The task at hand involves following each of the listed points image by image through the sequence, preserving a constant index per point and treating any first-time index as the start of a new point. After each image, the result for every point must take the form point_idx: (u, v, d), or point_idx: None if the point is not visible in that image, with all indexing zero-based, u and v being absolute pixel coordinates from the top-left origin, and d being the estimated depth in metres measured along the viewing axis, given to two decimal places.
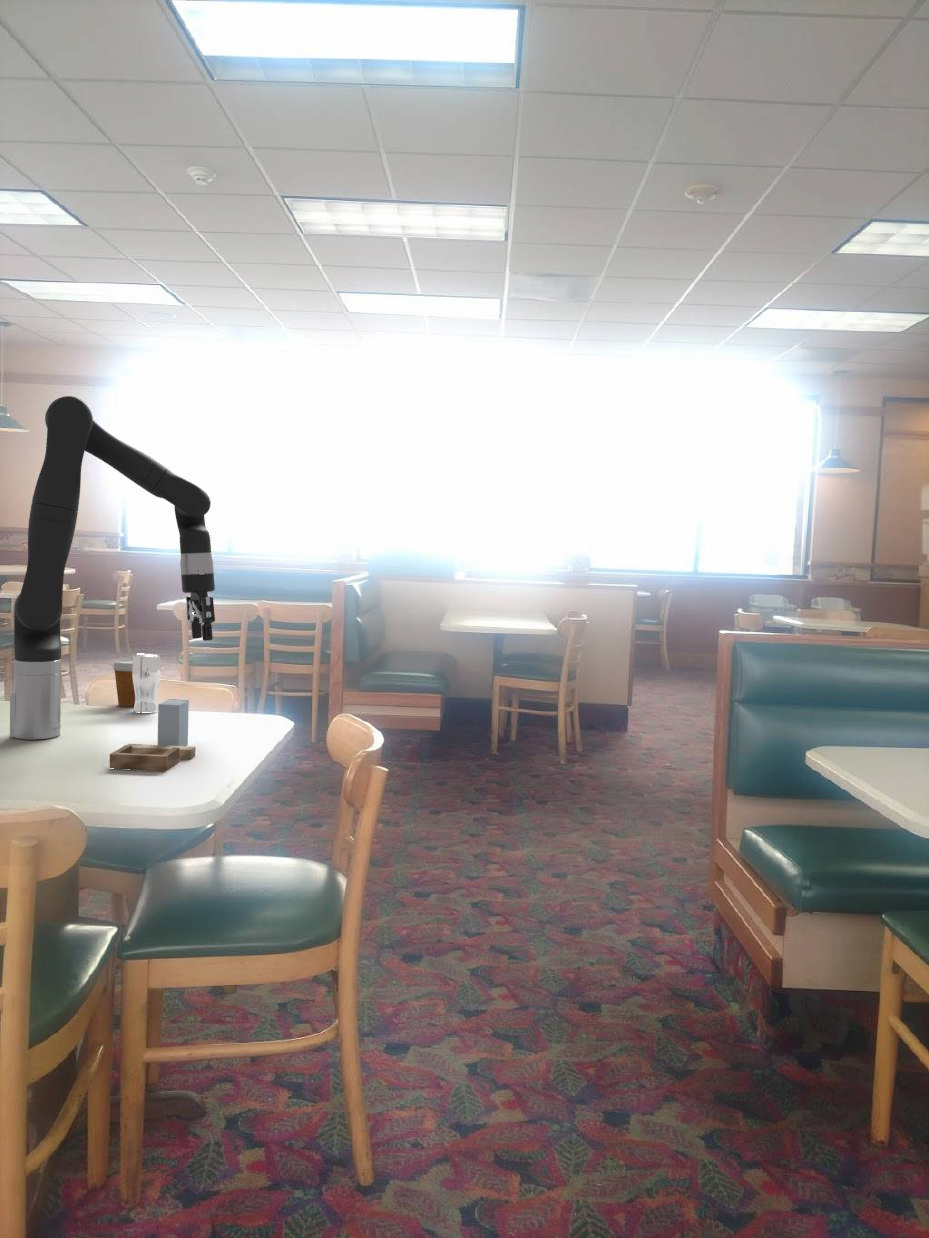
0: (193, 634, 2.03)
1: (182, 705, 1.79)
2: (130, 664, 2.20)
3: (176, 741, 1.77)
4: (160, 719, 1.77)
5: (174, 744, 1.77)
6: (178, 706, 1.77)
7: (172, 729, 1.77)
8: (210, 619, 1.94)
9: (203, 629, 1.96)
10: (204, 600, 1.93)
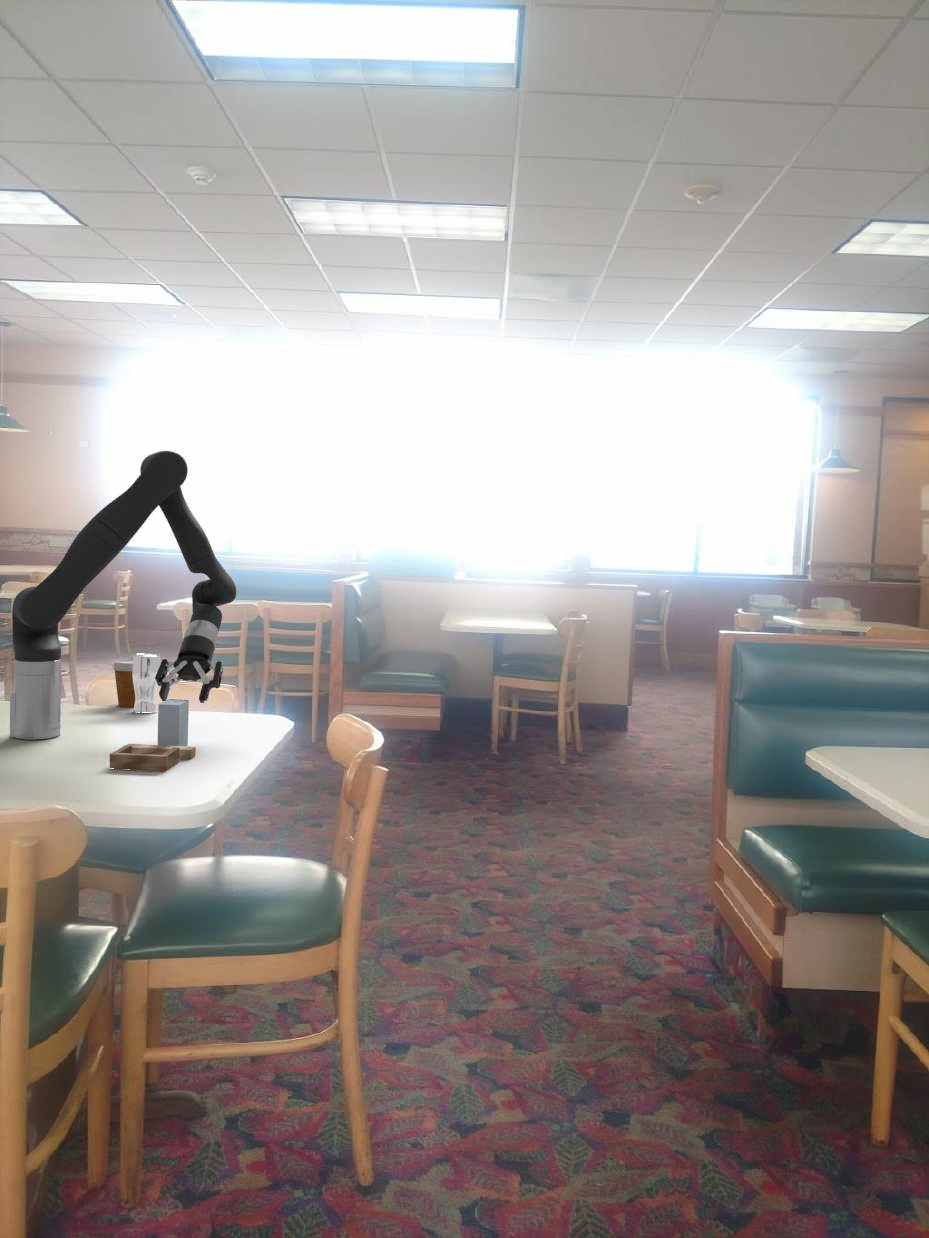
0: (164, 693, 1.85)
1: (182, 705, 1.79)
2: (130, 664, 2.20)
3: (176, 741, 1.77)
4: (160, 719, 1.77)
5: (174, 744, 1.77)
6: (178, 706, 1.77)
7: (172, 729, 1.77)
8: (218, 683, 1.89)
9: (204, 688, 1.86)
10: (221, 664, 1.91)
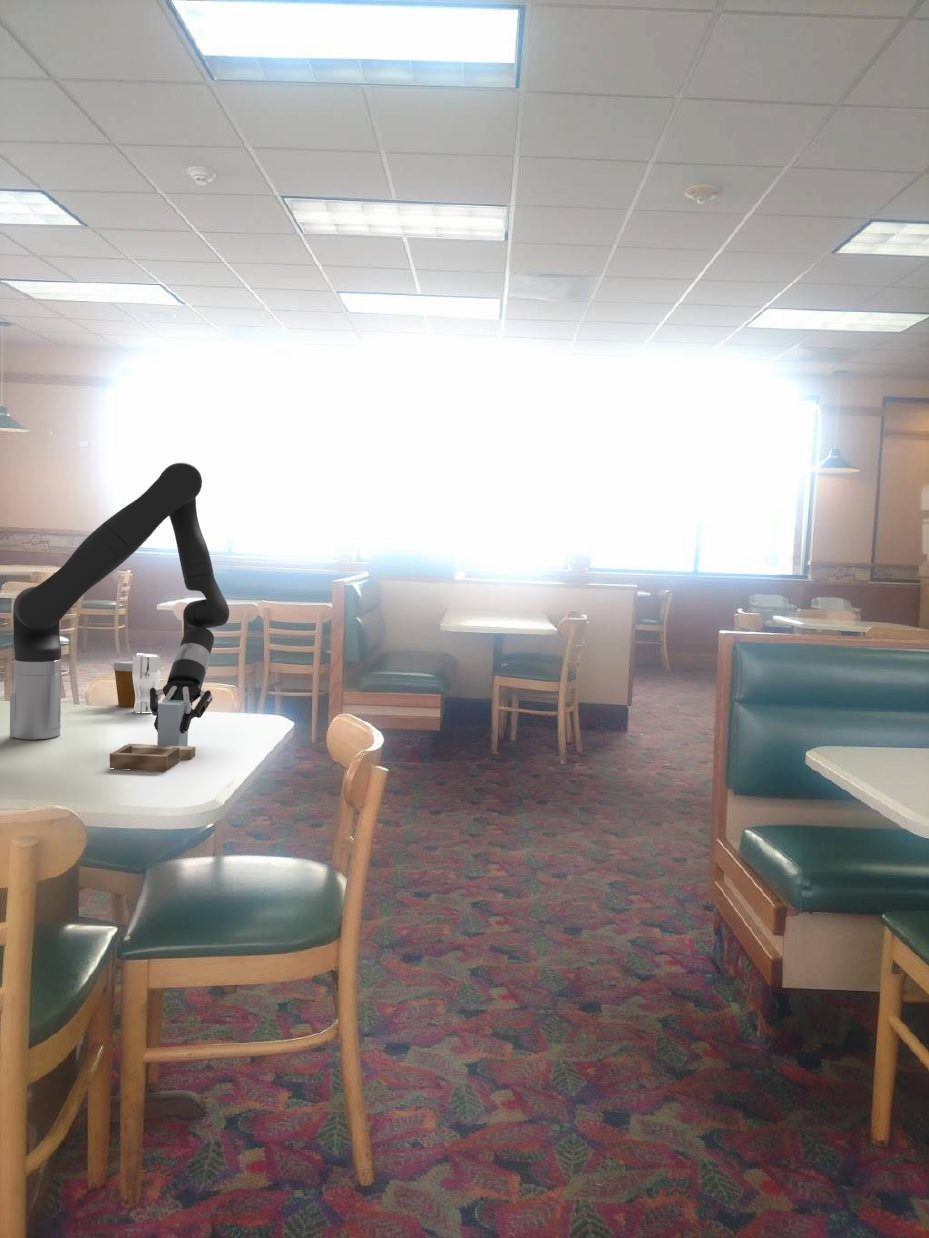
0: None
1: (182, 705, 1.79)
2: (130, 664, 2.20)
3: (176, 741, 1.77)
4: (160, 719, 1.77)
5: (174, 744, 1.77)
6: (178, 706, 1.77)
7: (172, 728, 1.77)
8: (200, 712, 1.82)
9: (185, 718, 1.79)
10: (210, 694, 1.83)
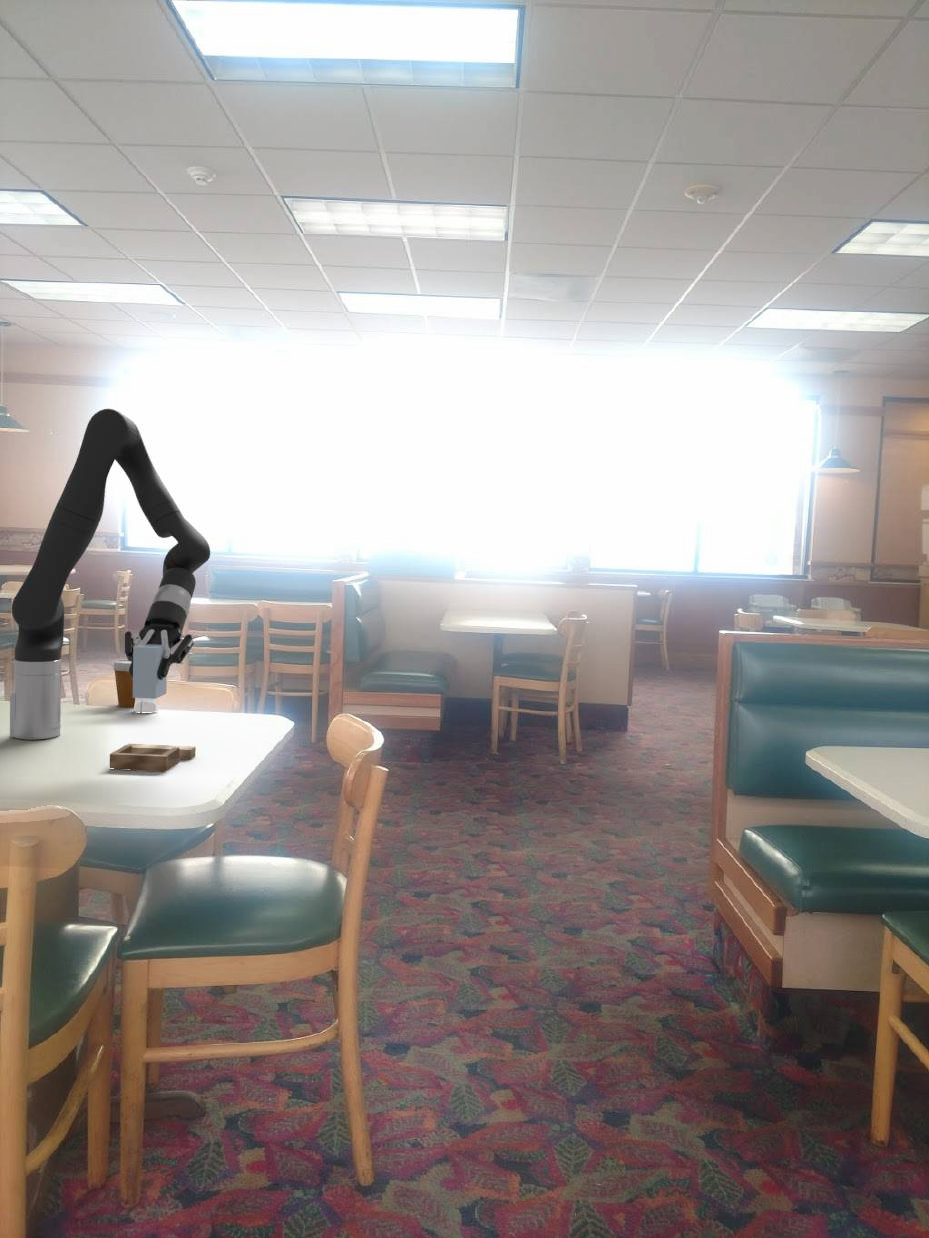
0: None
1: (160, 648, 1.63)
2: (130, 664, 2.20)
3: (153, 687, 1.62)
4: (135, 663, 1.61)
5: (151, 691, 1.62)
6: (155, 649, 1.61)
7: (149, 674, 1.61)
8: (180, 658, 1.66)
9: (163, 663, 1.64)
10: (190, 639, 1.68)
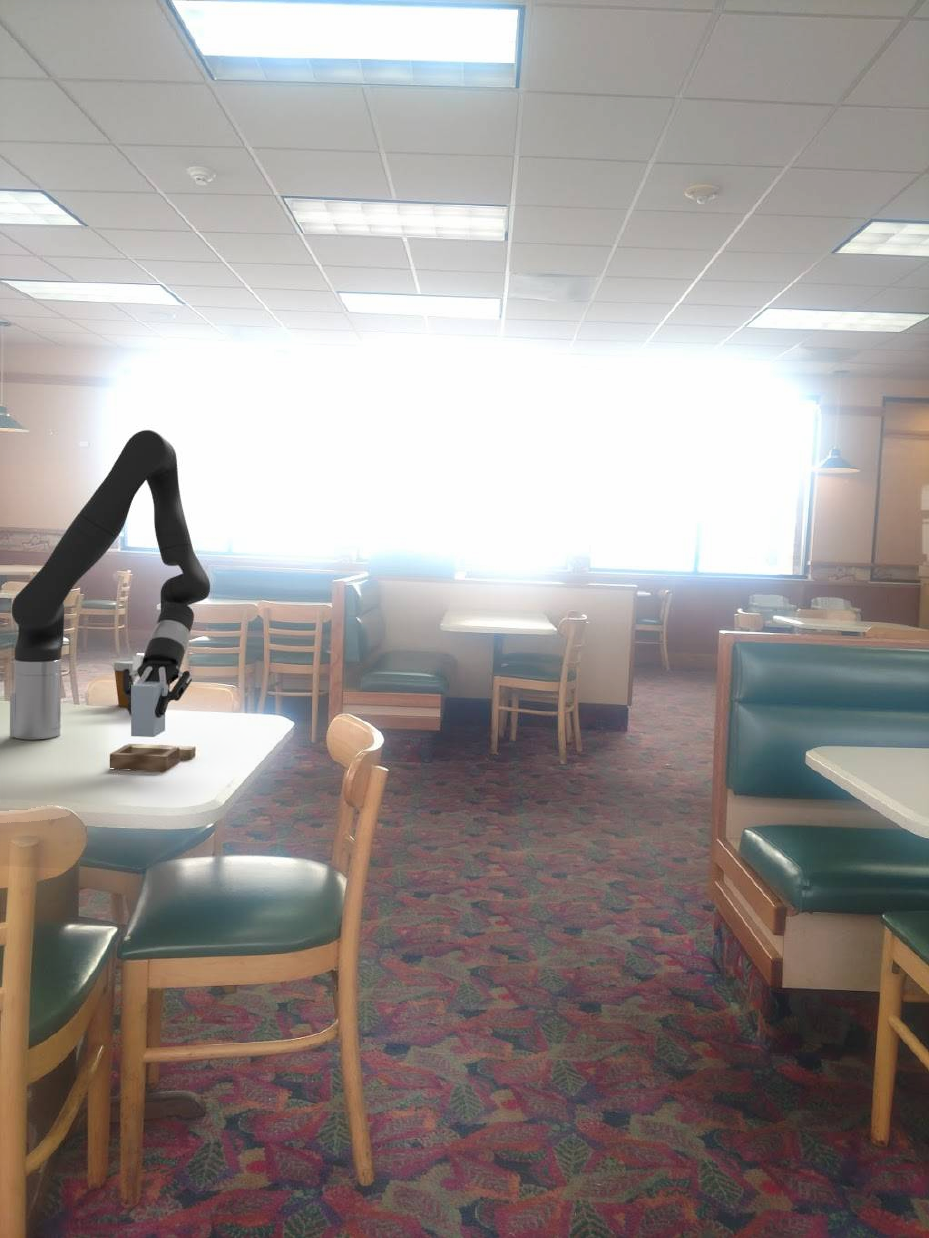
0: None
1: (157, 686, 1.63)
2: (130, 664, 2.20)
3: (151, 726, 1.62)
4: (133, 702, 1.61)
5: (149, 729, 1.62)
6: (153, 687, 1.61)
7: (147, 712, 1.62)
8: (178, 695, 1.66)
9: (161, 701, 1.64)
10: (188, 675, 1.68)
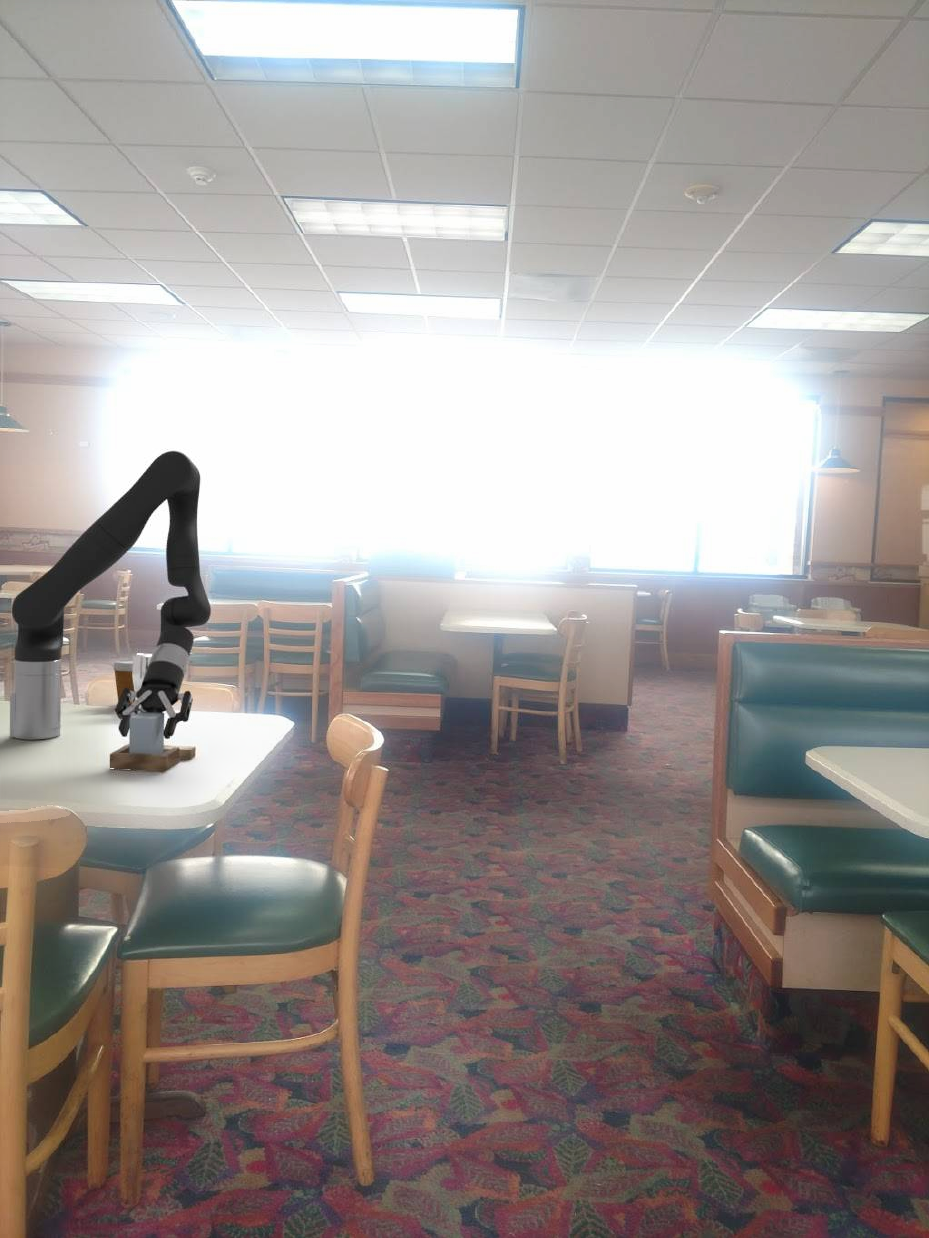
0: (124, 727, 1.64)
1: (156, 719, 1.64)
2: (130, 664, 2.20)
3: None
4: (132, 734, 1.62)
5: None
6: (151, 720, 1.62)
7: (145, 744, 1.62)
8: (186, 716, 1.67)
9: (170, 722, 1.65)
10: (190, 694, 1.69)
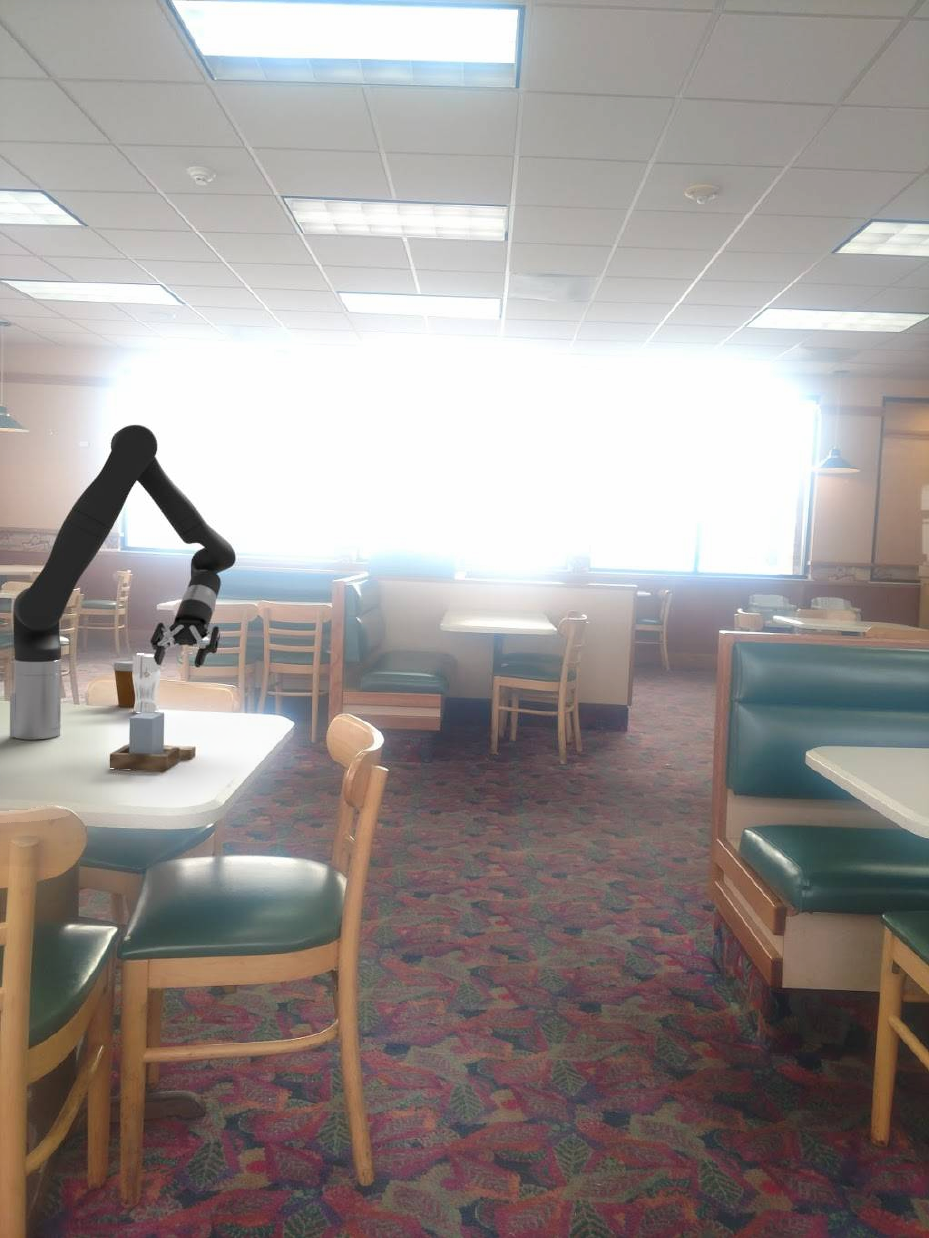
0: (159, 656, 1.81)
1: (156, 719, 1.64)
2: (130, 664, 2.20)
3: None
4: (132, 734, 1.62)
5: None
6: (151, 720, 1.62)
7: (145, 744, 1.62)
8: (215, 648, 1.84)
9: (200, 653, 1.82)
10: (218, 629, 1.87)
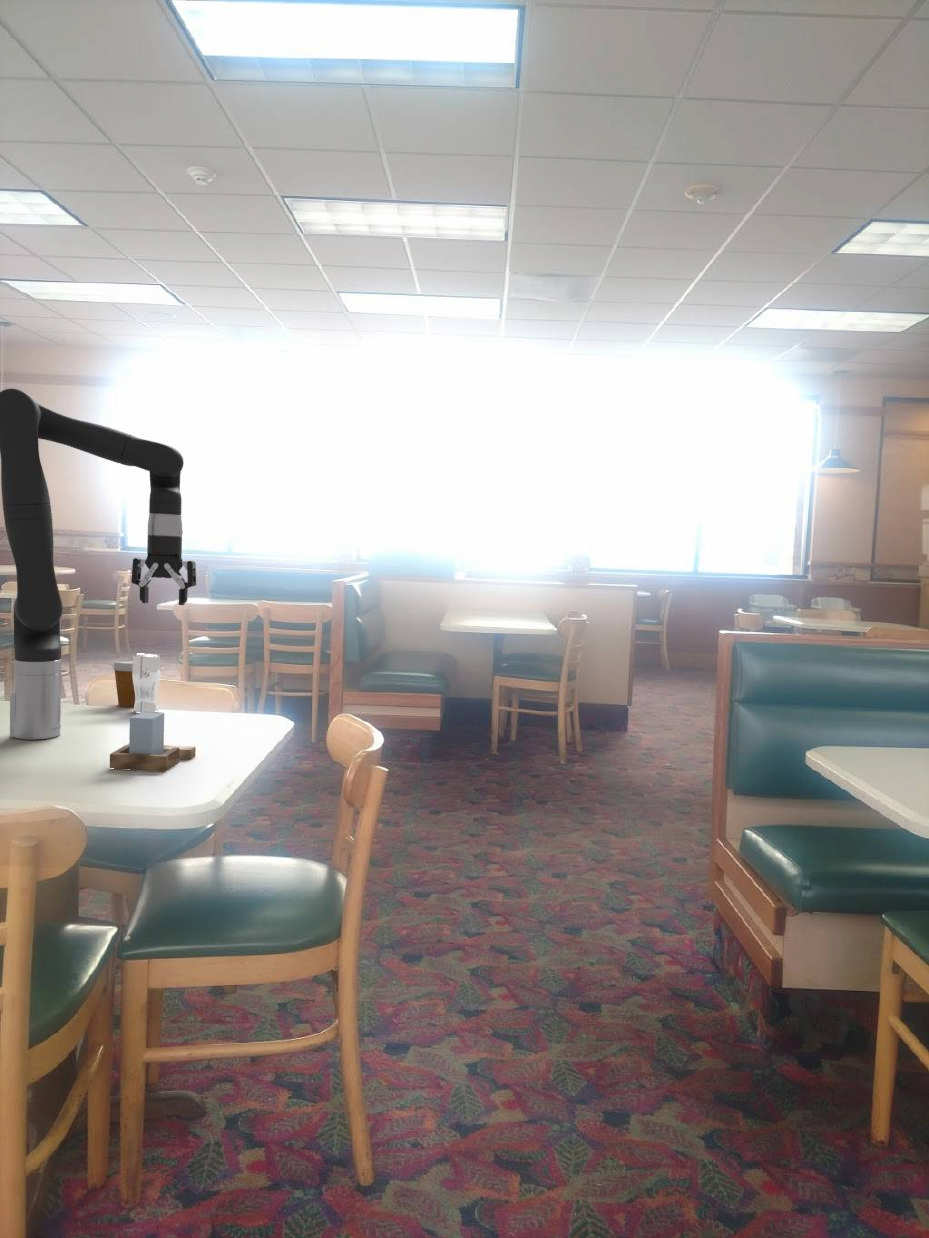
0: (145, 598, 1.92)
1: (156, 719, 1.64)
2: (130, 664, 2.20)
3: None
4: (132, 734, 1.62)
5: None
6: (151, 720, 1.62)
7: (145, 744, 1.62)
8: (194, 583, 1.93)
9: (182, 593, 1.92)
10: (192, 564, 1.91)
